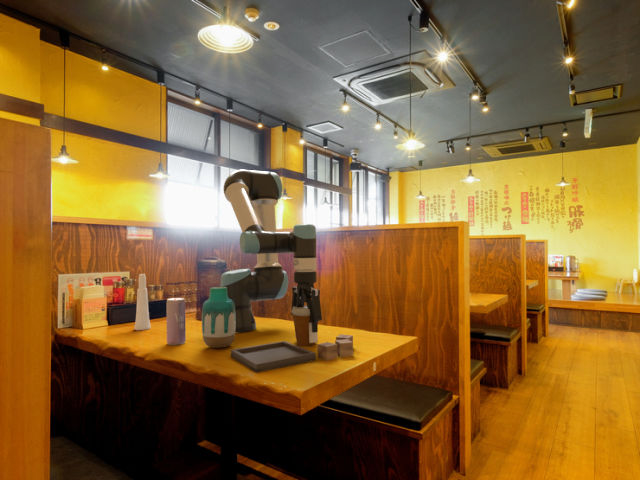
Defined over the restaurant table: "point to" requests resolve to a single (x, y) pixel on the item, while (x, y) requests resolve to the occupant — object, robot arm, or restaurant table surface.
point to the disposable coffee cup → (302, 325)
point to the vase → (218, 319)
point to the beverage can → (176, 321)
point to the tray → (272, 356)
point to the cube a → (327, 351)
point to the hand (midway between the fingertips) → (306, 339)
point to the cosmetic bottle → (142, 306)
